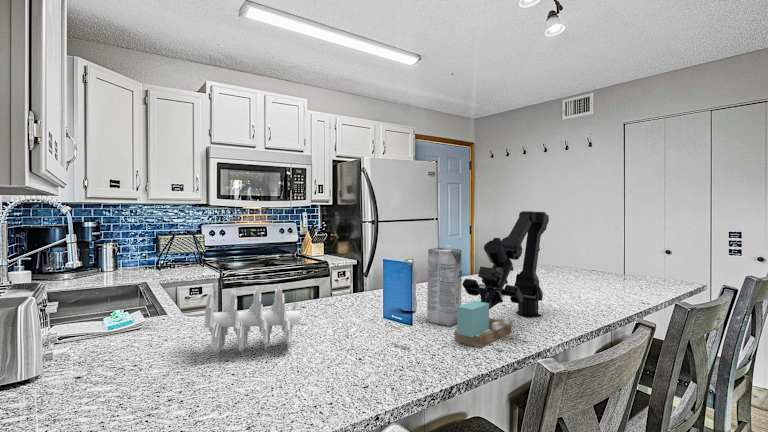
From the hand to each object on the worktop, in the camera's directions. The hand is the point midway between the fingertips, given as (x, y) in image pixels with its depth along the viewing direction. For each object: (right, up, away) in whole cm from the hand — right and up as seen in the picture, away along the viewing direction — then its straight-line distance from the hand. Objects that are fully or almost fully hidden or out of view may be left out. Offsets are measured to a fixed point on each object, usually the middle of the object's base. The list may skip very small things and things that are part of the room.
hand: (482, 312), depth 123 cm
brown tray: (+1, -8, +1) cm, 8 cm away
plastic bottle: (-21, -7, +29) cm, 36 cm away
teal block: (-4, -5, -4) cm, 7 cm away
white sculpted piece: (-67, -8, -11) cm, 68 cm away
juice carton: (-9, -7, +16) cm, 20 cm away
